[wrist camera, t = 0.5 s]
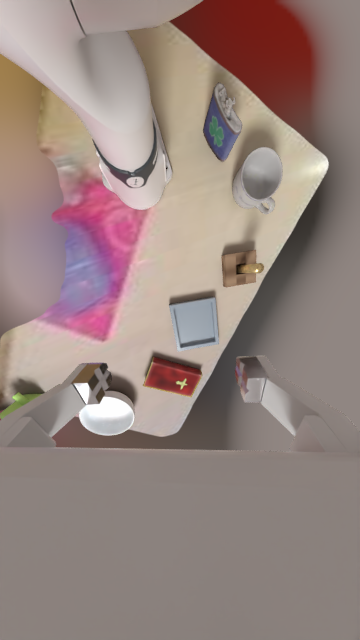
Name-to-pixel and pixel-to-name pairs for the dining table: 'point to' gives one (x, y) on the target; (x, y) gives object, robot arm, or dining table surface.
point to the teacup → (258, 180)
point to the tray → (195, 323)
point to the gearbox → (18, 403)
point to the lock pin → (250, 268)
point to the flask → (221, 123)
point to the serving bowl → (109, 414)
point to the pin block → (230, 268)
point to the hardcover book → (172, 377)
